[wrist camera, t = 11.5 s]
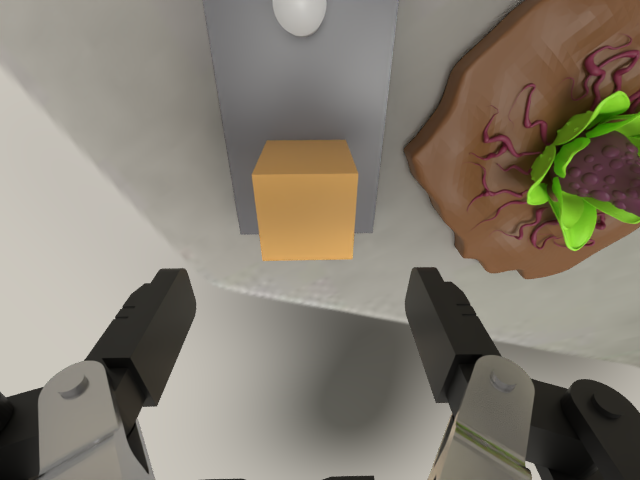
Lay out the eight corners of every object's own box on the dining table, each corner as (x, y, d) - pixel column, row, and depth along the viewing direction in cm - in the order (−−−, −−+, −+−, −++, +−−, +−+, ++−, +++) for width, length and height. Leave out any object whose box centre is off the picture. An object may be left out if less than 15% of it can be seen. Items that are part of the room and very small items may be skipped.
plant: (650, -149, 15) (1260, -491, 5) (749, 123, 22) (1080, 184, 12) (360, 163, 23) (397, 250, 13) (503, 287, 30) (592, 399, 20)
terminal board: (197, -100, 15) (140, -174, 10) (400, -97, 15) (446, -168, 10) (245, 221, 25) (228, 267, 20) (368, 220, 25) (383, 264, 20)
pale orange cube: (266, 140, 19) (251, 174, 14) (345, 139, 19) (358, 173, 14) (273, 211, 22) (262, 260, 17) (342, 210, 22) (352, 259, 17)
